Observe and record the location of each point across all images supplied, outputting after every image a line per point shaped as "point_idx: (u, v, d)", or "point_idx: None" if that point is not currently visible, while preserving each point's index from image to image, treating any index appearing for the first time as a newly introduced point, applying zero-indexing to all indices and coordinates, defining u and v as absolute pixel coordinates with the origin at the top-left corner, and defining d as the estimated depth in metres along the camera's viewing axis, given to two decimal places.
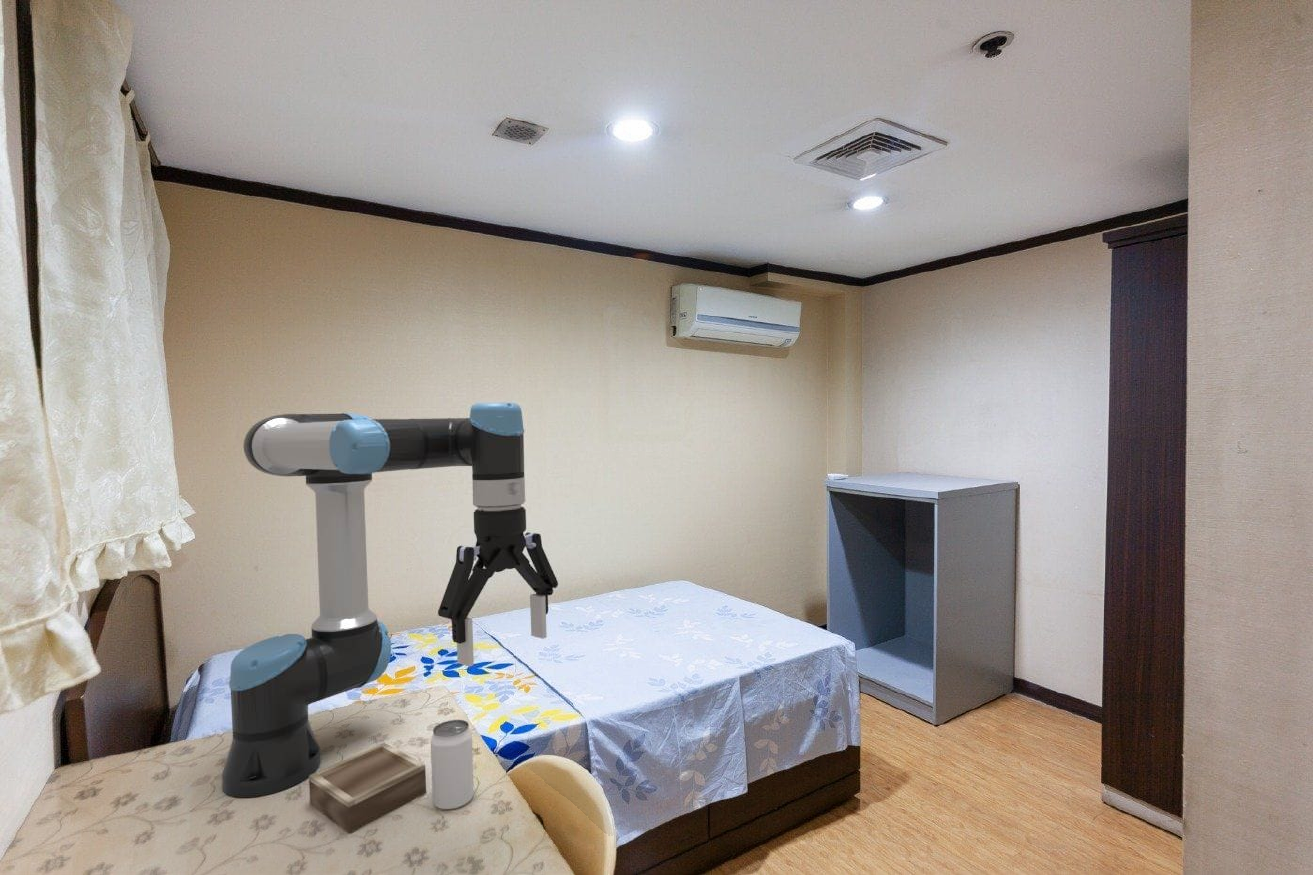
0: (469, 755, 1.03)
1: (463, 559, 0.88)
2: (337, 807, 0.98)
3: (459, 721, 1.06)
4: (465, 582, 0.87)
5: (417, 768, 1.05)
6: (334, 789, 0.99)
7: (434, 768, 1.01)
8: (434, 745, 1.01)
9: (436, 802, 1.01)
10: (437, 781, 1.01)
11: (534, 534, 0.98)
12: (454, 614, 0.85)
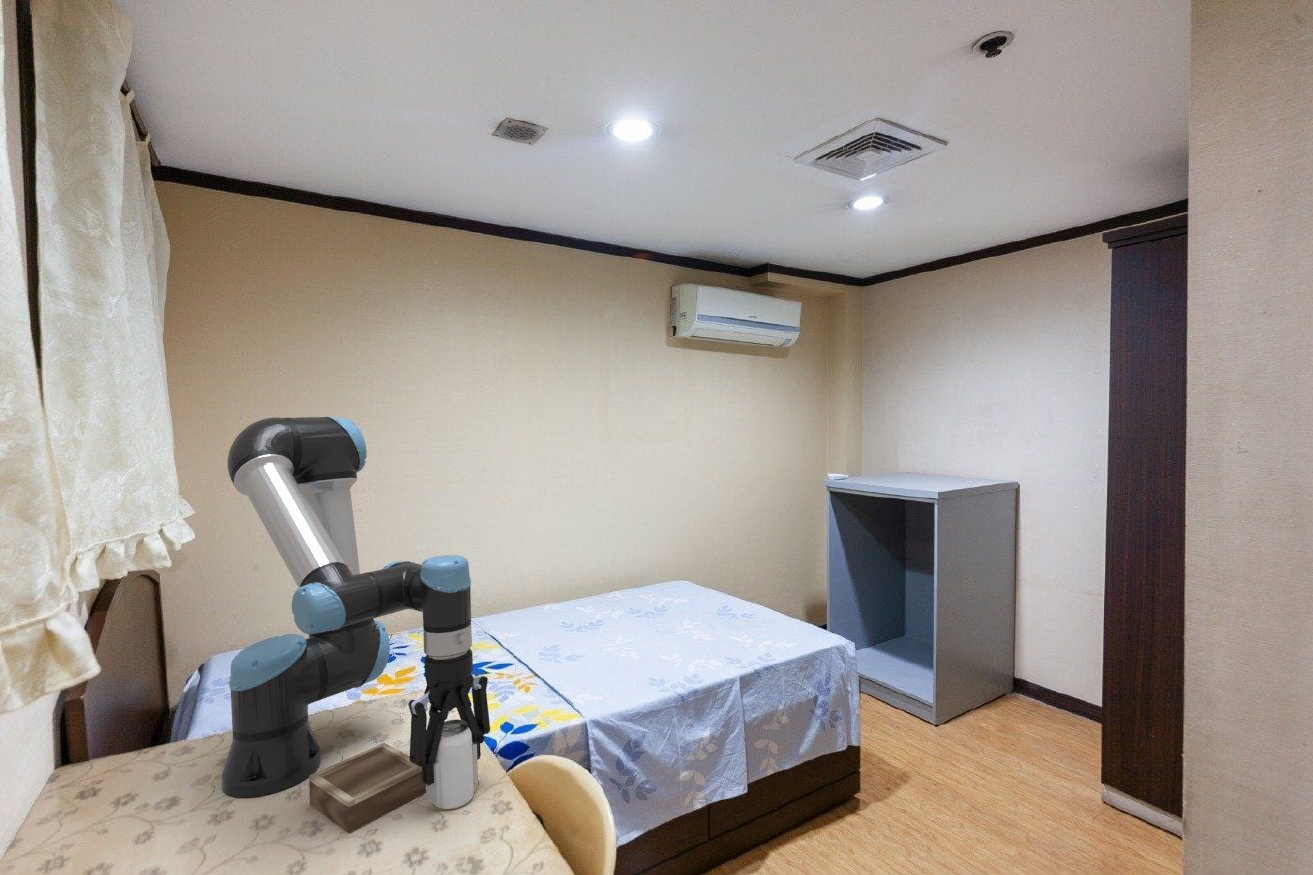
0: (469, 755, 1.03)
1: (416, 714, 0.98)
2: (337, 807, 0.98)
3: (459, 721, 1.06)
4: (424, 732, 0.99)
5: (417, 768, 1.05)
6: (334, 789, 0.99)
7: None
8: None
9: None
10: None
11: (482, 676, 1.08)
12: (423, 761, 0.98)
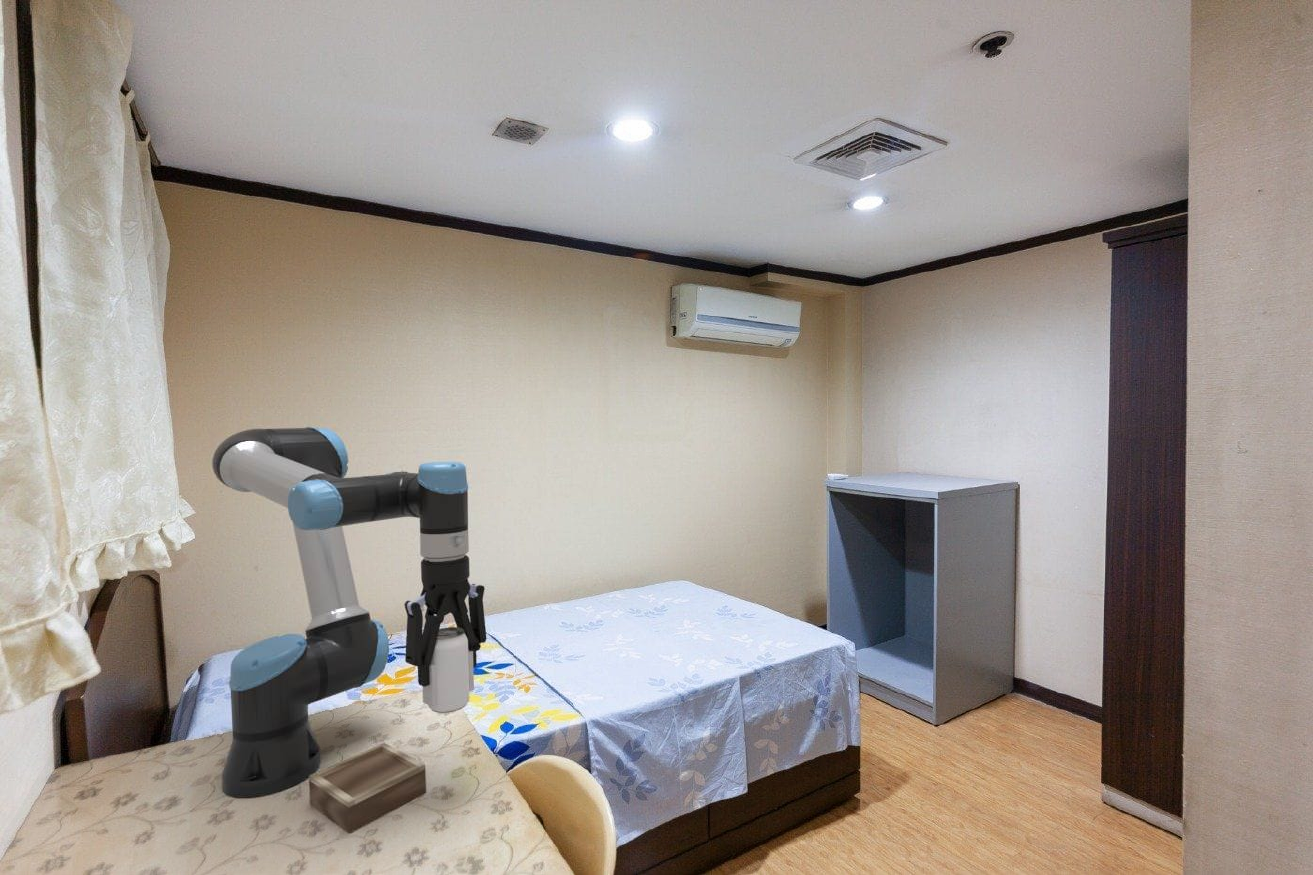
0: (465, 660, 1.03)
1: (412, 614, 0.98)
2: (337, 807, 0.98)
3: (455, 629, 1.06)
4: (420, 632, 0.98)
5: (417, 768, 1.05)
6: (334, 789, 0.99)
7: None
8: None
9: None
10: None
11: (479, 585, 1.08)
12: (419, 661, 0.98)
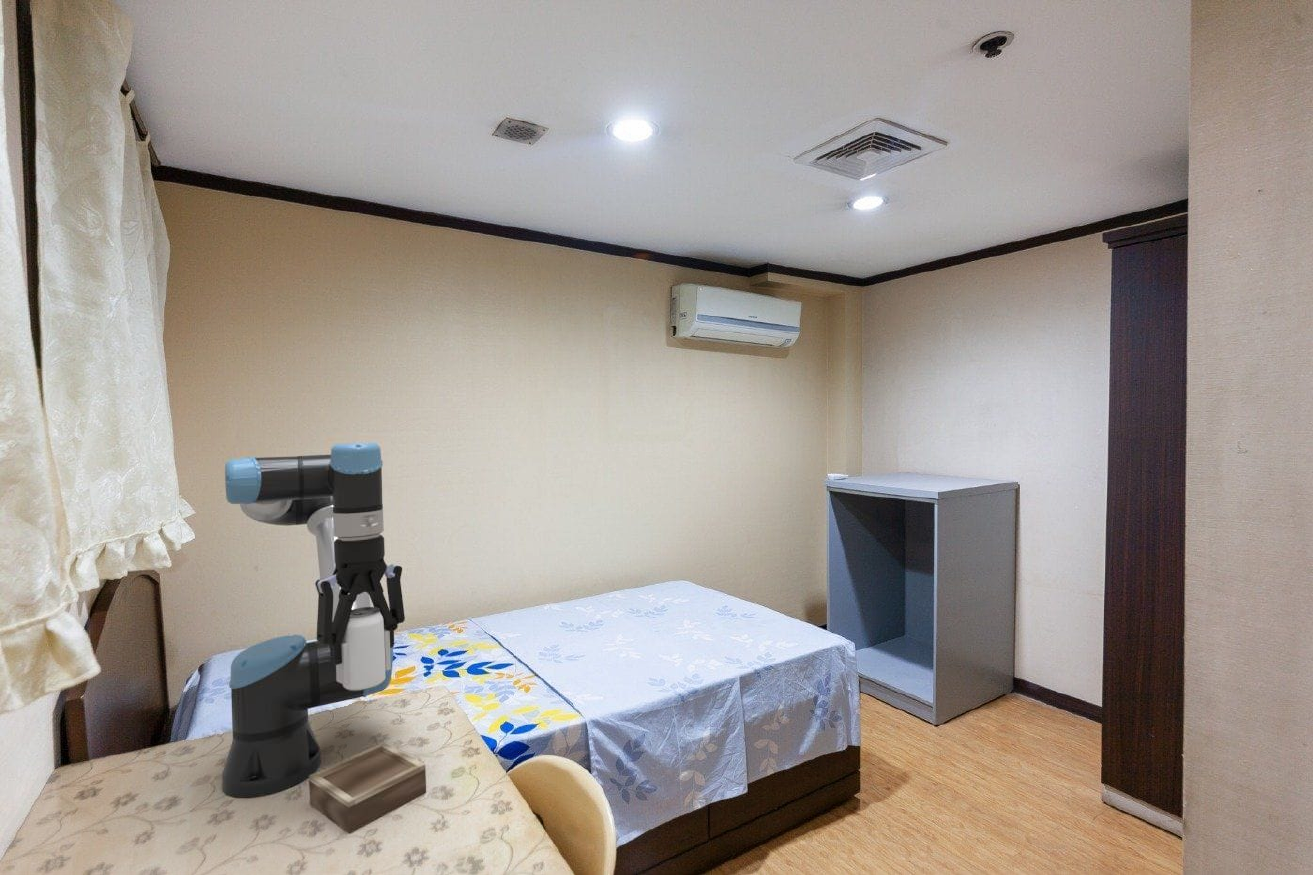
0: (379, 638, 1.03)
1: (322, 592, 0.99)
2: (337, 807, 0.98)
3: (372, 608, 1.07)
4: (331, 610, 0.99)
5: (417, 768, 1.05)
6: (334, 789, 0.99)
7: None
8: None
9: None
10: None
11: (397, 566, 1.09)
12: (329, 639, 0.99)
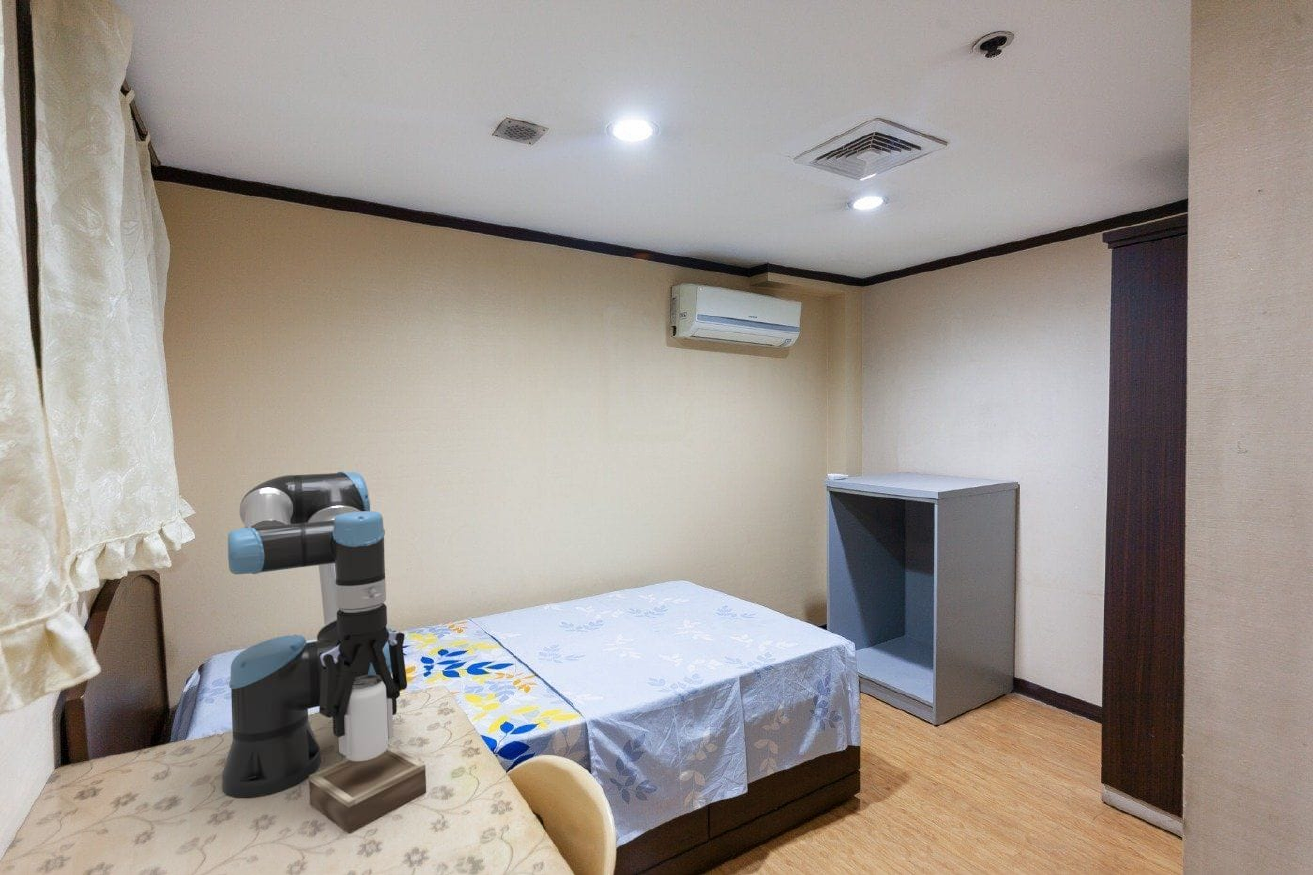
0: (381, 708, 1.04)
1: (325, 666, 0.99)
2: (337, 807, 0.98)
3: (374, 676, 1.07)
4: (333, 684, 0.99)
5: (417, 768, 1.05)
6: (334, 789, 0.99)
7: None
8: None
9: None
10: None
11: (399, 633, 1.09)
12: (332, 712, 0.99)
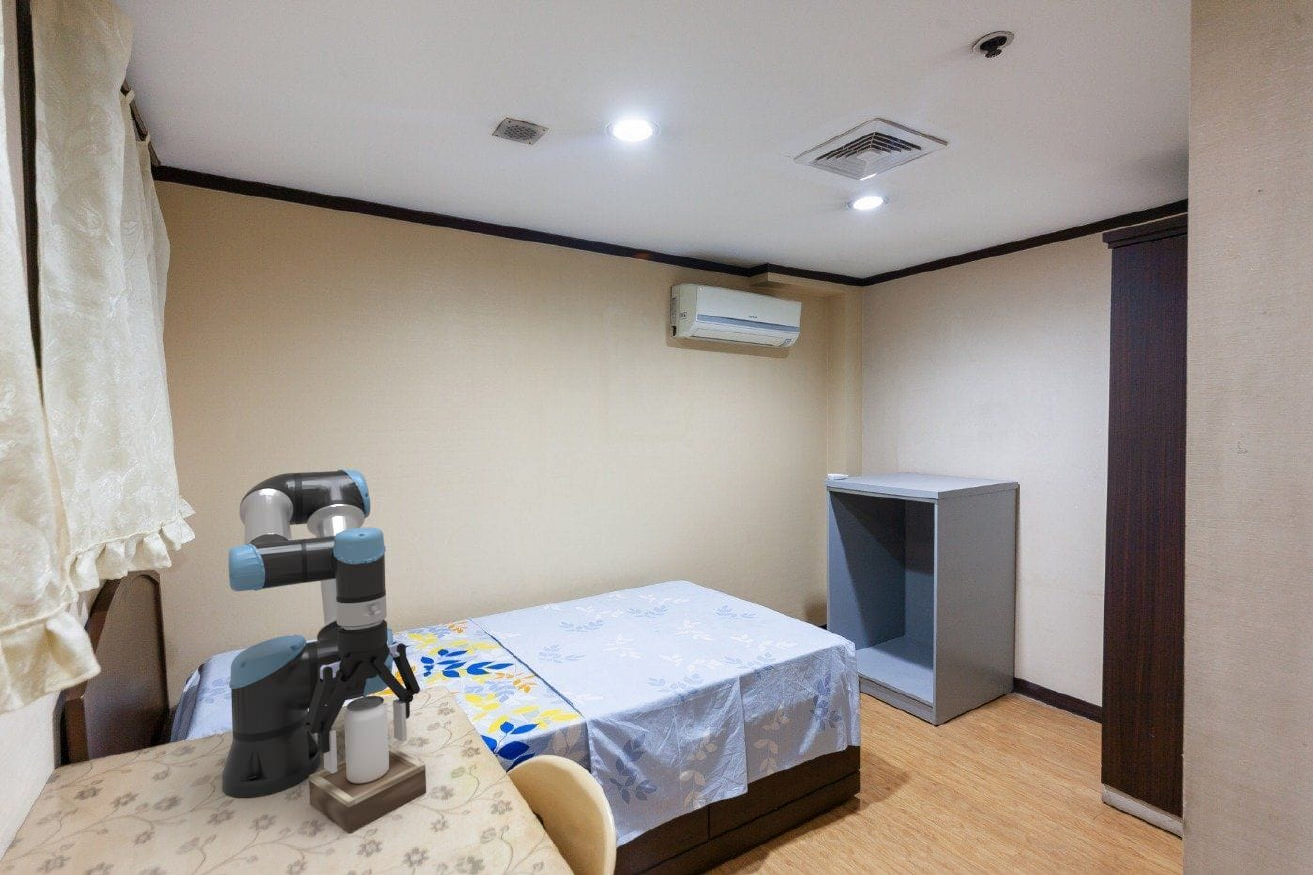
0: (382, 730, 1.04)
1: (323, 678, 0.99)
2: (337, 807, 0.98)
3: (375, 697, 1.07)
4: (326, 699, 0.98)
5: (417, 768, 1.05)
6: (334, 789, 0.99)
7: (346, 743, 1.02)
8: (346, 719, 1.02)
9: (349, 776, 1.02)
10: (349, 755, 1.02)
11: (399, 644, 1.09)
12: (317, 729, 0.97)
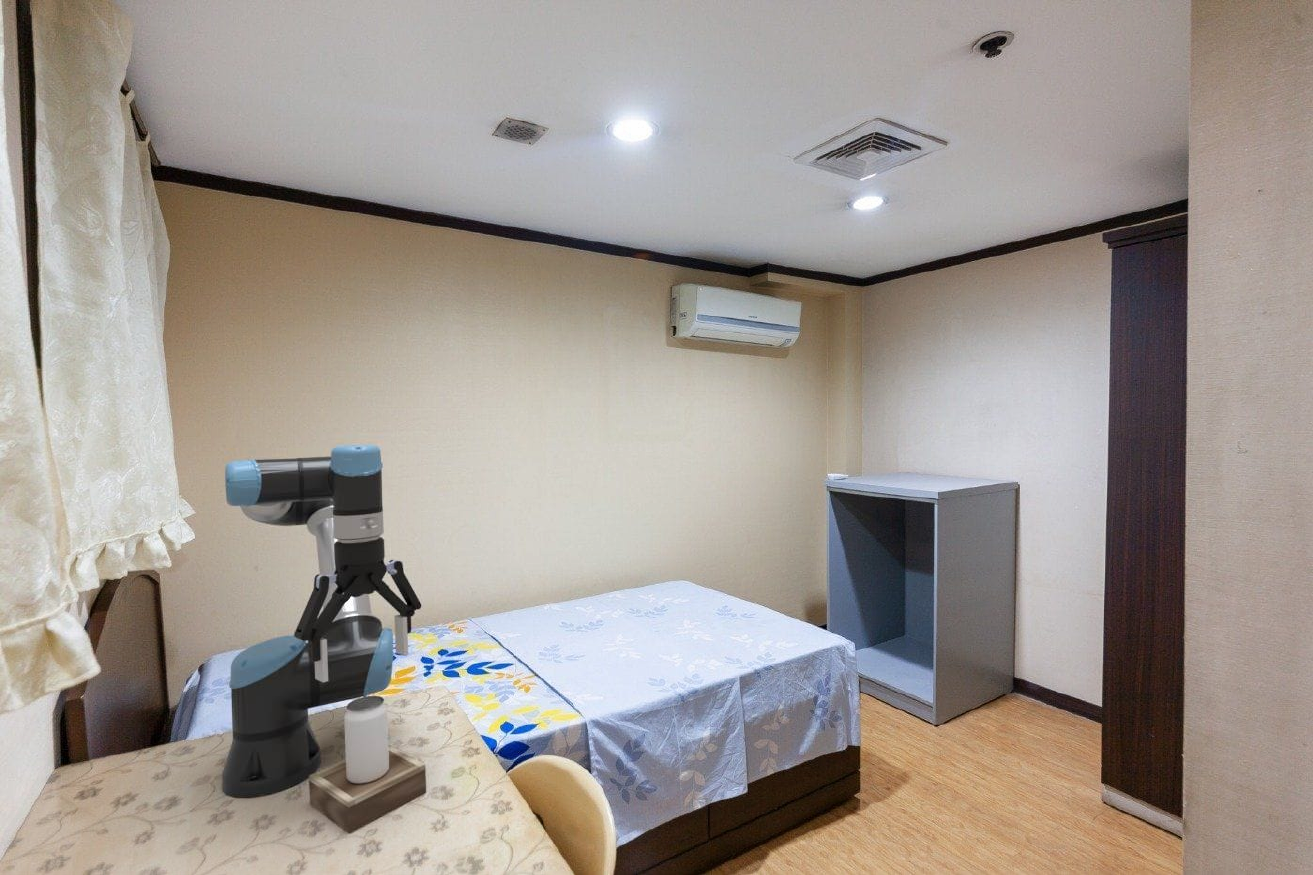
0: (382, 730, 1.04)
1: (318, 587, 0.99)
2: (337, 807, 0.98)
3: (375, 697, 1.07)
4: (319, 607, 0.98)
5: (417, 768, 1.05)
6: (334, 789, 0.99)
7: (346, 743, 1.02)
8: (346, 719, 1.02)
9: (349, 776, 1.02)
10: (349, 755, 1.02)
11: (396, 561, 1.08)
12: (307, 636, 0.96)
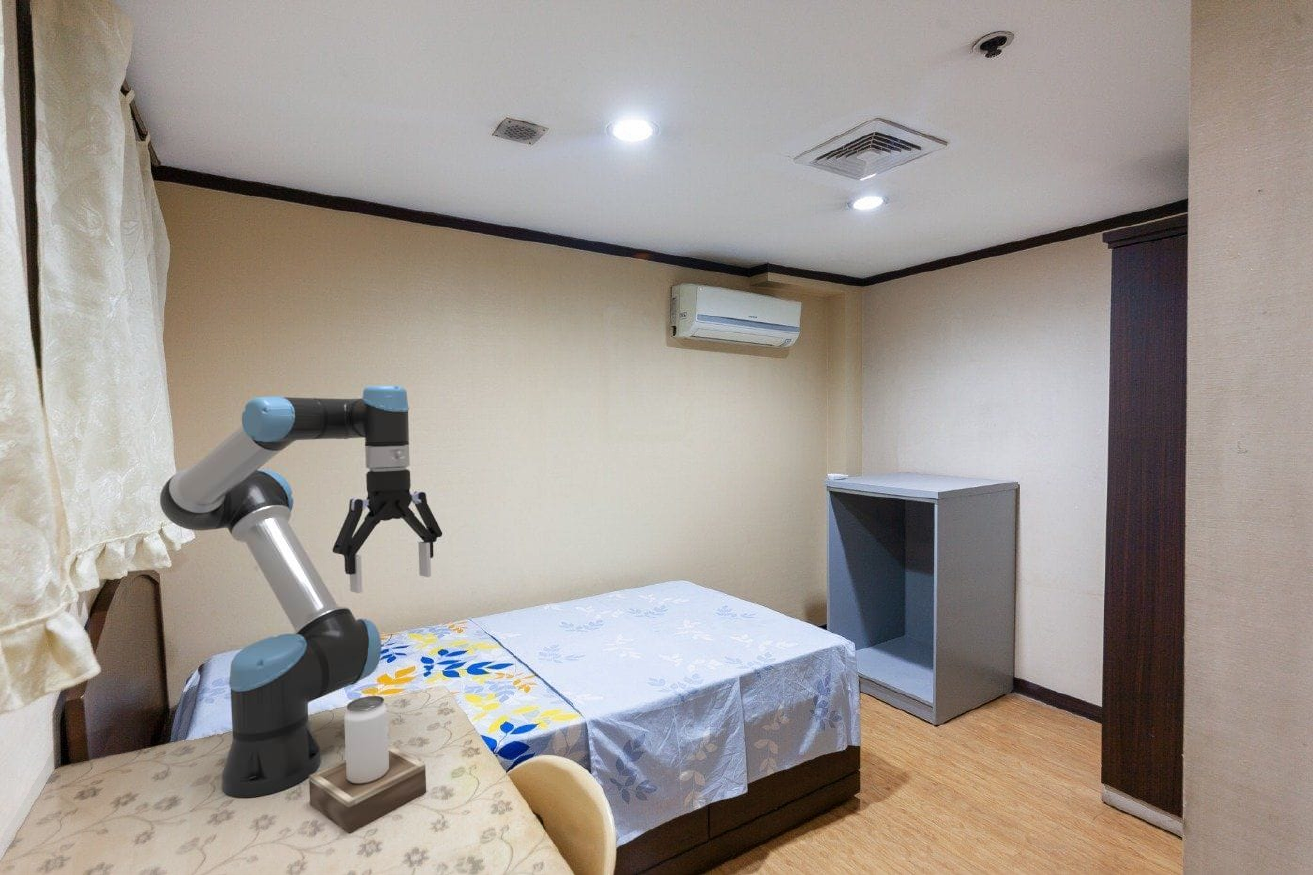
0: (382, 730, 1.04)
1: (354, 508, 1.11)
2: (337, 807, 0.98)
3: (375, 697, 1.07)
4: (354, 526, 1.10)
5: (417, 768, 1.05)
6: (334, 789, 0.99)
7: (346, 743, 1.02)
8: (346, 719, 1.02)
9: (349, 776, 1.02)
10: (349, 755, 1.02)
11: (420, 492, 1.21)
12: (344, 550, 1.09)
